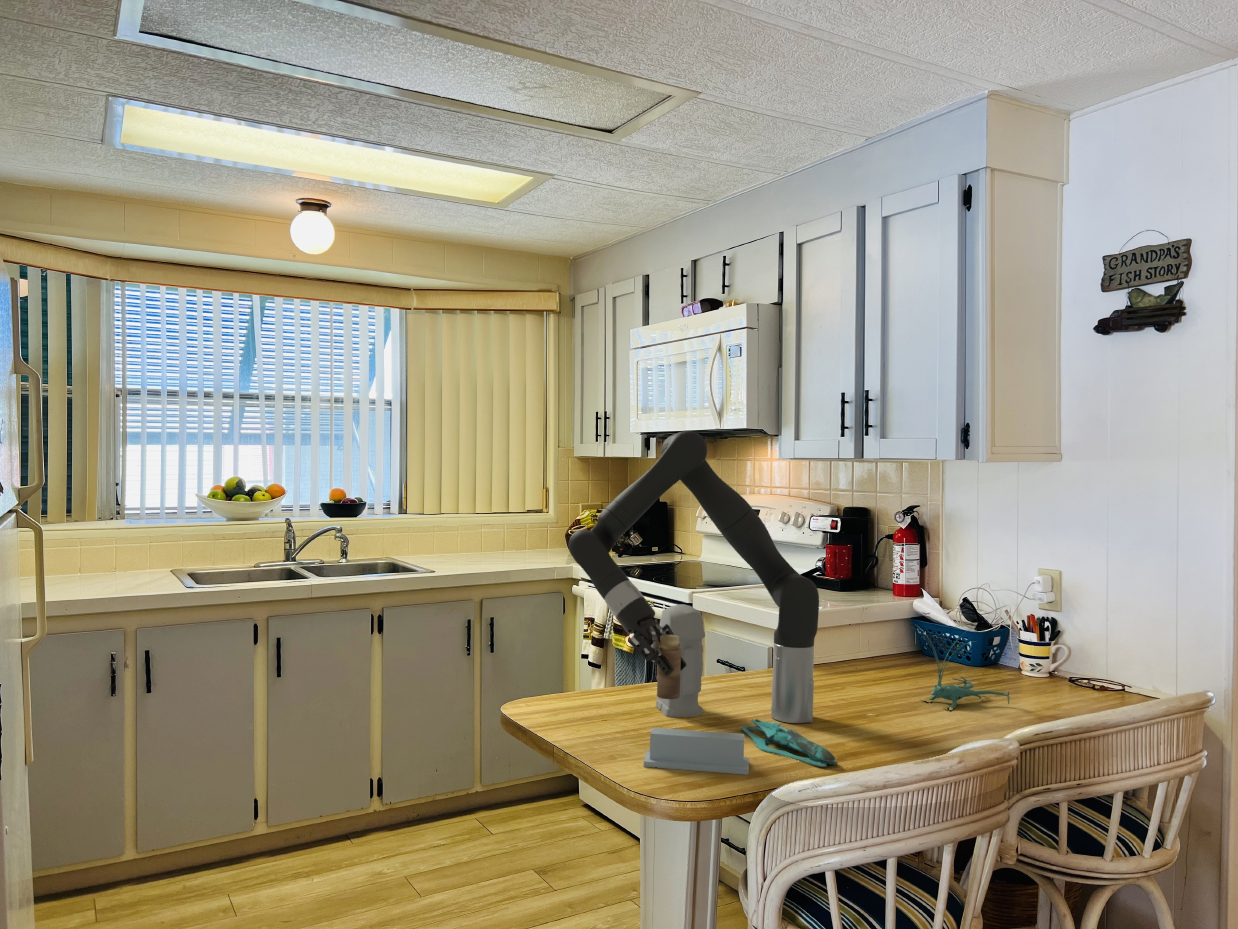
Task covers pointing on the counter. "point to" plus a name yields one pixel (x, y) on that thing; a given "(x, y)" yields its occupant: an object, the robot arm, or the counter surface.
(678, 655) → the pepper mill
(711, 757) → the rail
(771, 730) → the toy spaceship
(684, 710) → the grey moai statue
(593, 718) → the counter surface
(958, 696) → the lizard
